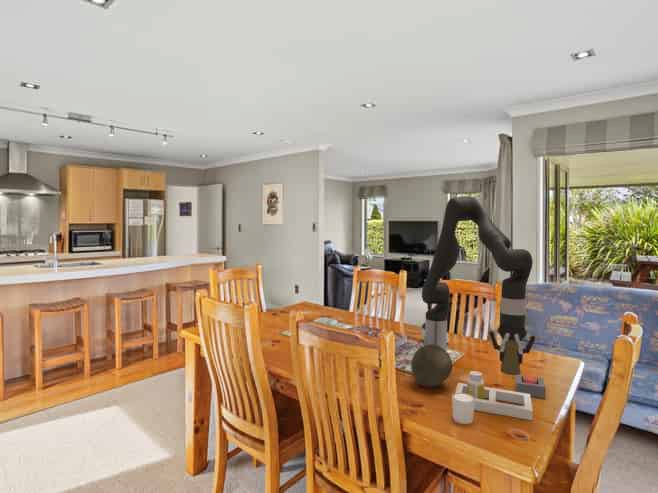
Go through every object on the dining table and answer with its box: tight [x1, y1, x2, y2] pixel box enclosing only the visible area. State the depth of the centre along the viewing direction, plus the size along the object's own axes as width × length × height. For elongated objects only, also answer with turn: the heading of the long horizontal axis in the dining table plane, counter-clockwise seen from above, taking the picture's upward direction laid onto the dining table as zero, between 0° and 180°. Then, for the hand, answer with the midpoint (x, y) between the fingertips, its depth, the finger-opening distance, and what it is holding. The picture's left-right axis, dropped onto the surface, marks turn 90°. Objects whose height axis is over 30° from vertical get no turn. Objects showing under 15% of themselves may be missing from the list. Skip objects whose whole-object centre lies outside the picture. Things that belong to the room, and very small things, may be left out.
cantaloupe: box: [410, 344, 453, 388], centre depth 146 cm, size 14×14×15 cm
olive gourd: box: [500, 339, 522, 376], centre depth 128 cm, size 6×6×11 cm
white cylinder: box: [451, 393, 475, 425], centre depth 122 cm, size 7×7×7 cm
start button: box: [523, 375, 537, 384], centre depth 141 cm, size 4×4×3 cm
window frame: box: [454, 382, 534, 421], centre depth 132 cm, size 23×12×3 cm, turn 67°
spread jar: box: [420, 318, 450, 344], centre depth 196 cm, size 12×11×12 cm
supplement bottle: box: [466, 370, 485, 400], centre depth 134 cm, size 5×5×10 cm
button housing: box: [514, 373, 547, 400], centre depth 142 cm, size 9×9×4 cm
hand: (510, 363), depth 129 cm, fingers closed on olive gourd, 4 cm apart
